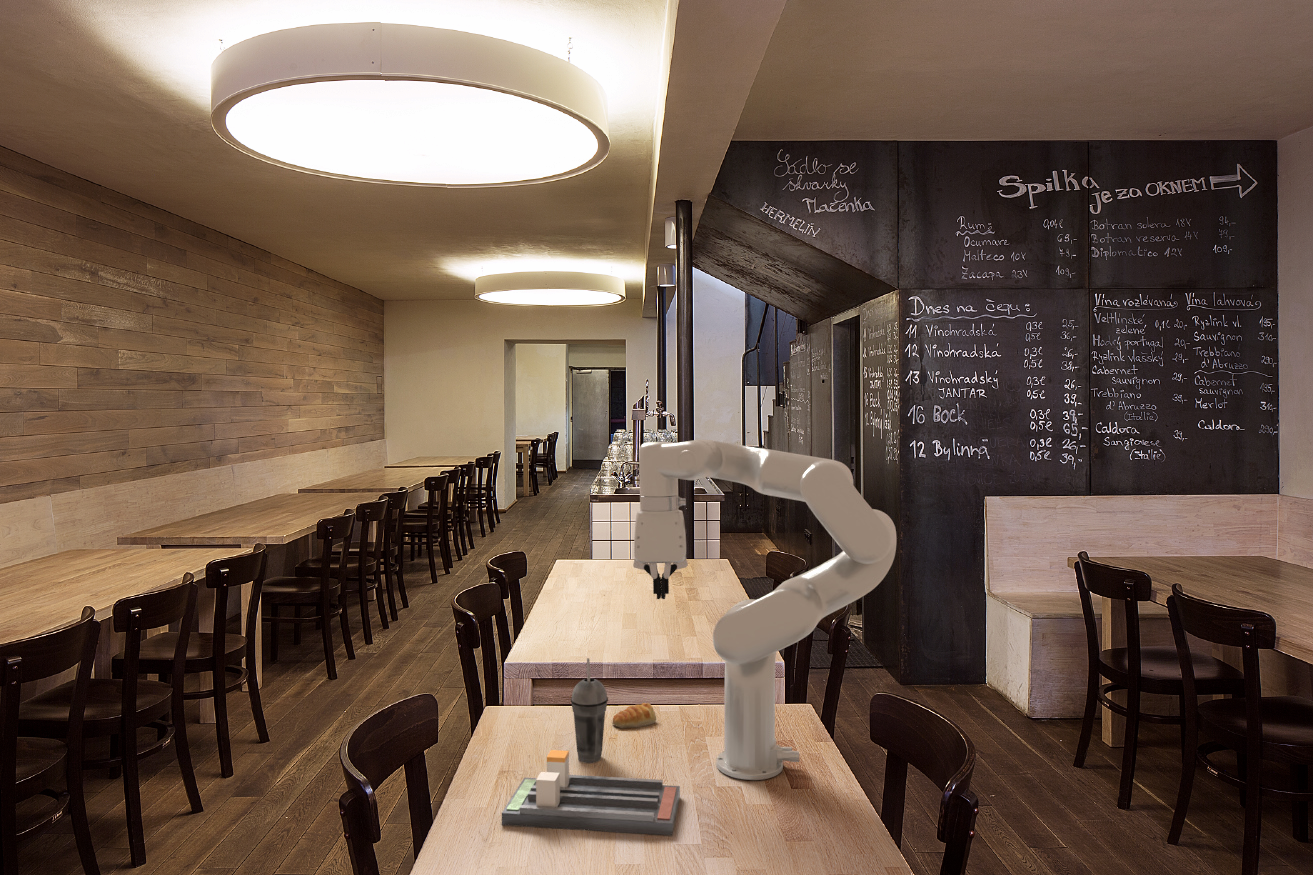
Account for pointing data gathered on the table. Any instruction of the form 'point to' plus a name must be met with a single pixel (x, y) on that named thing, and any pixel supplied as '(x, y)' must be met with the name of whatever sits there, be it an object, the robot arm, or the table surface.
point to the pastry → (635, 716)
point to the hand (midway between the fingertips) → (661, 597)
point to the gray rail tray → (599, 806)
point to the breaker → (548, 789)
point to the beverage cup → (589, 717)
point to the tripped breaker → (559, 765)
